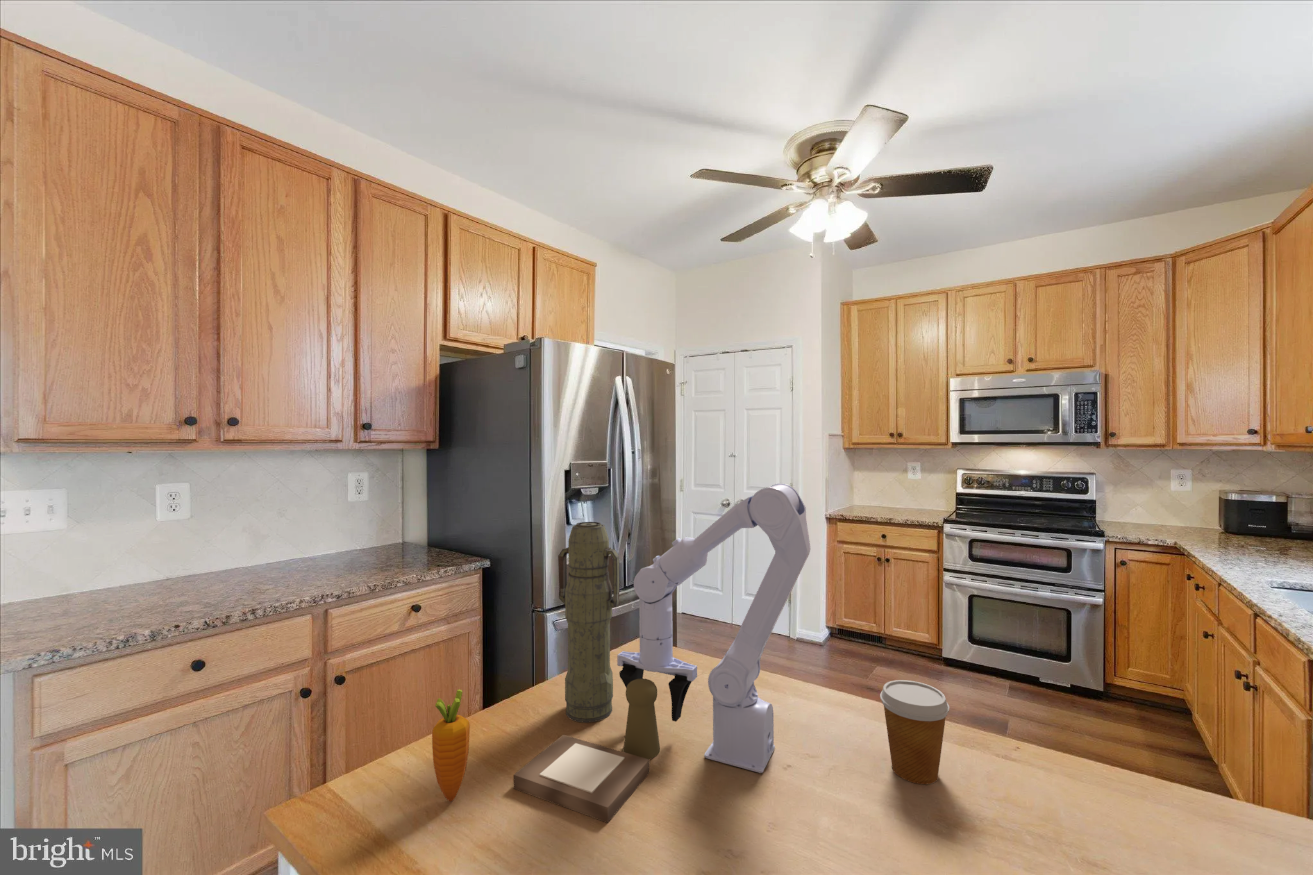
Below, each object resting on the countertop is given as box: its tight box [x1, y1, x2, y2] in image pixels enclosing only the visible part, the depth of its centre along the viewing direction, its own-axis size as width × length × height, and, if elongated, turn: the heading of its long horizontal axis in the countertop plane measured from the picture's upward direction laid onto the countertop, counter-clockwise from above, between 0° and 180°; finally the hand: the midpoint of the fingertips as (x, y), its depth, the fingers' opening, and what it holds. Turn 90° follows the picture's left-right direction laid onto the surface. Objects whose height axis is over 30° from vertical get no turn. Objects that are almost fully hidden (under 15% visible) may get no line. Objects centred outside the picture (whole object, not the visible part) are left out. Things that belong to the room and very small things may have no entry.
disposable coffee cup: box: [879, 679, 950, 785], centre depth 82 cm, size 10×10×12 cm
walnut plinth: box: [513, 734, 650, 824], centre depth 80 cm, size 16×12×2 cm
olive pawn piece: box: [622, 678, 661, 760], centre depth 88 cm, size 6×6×11 cm
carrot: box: [431, 689, 471, 802], centre depth 75 cm, size 5×5×15 cm
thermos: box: [557, 521, 620, 724], centre depth 101 cm, size 9×12×35 cm
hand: (656, 713), depth 93 cm, fingers open, 7 cm apart
